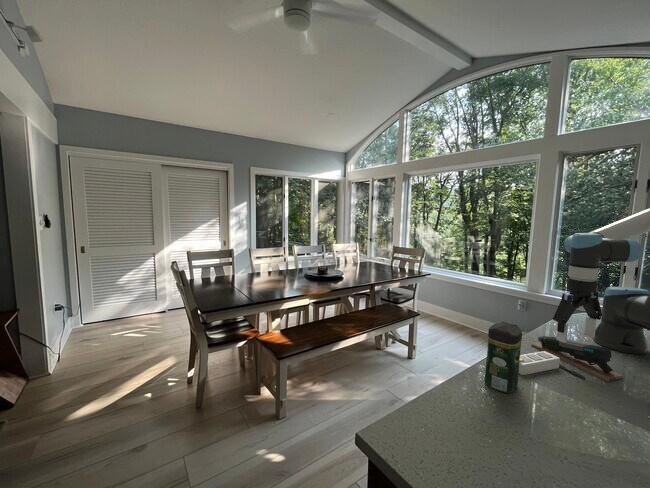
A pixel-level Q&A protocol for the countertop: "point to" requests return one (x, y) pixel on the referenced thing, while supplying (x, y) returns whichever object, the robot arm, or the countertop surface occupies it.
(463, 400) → the countertop surface
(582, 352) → the gun
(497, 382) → the coffee jar
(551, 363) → the power strip
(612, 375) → the walnut board
